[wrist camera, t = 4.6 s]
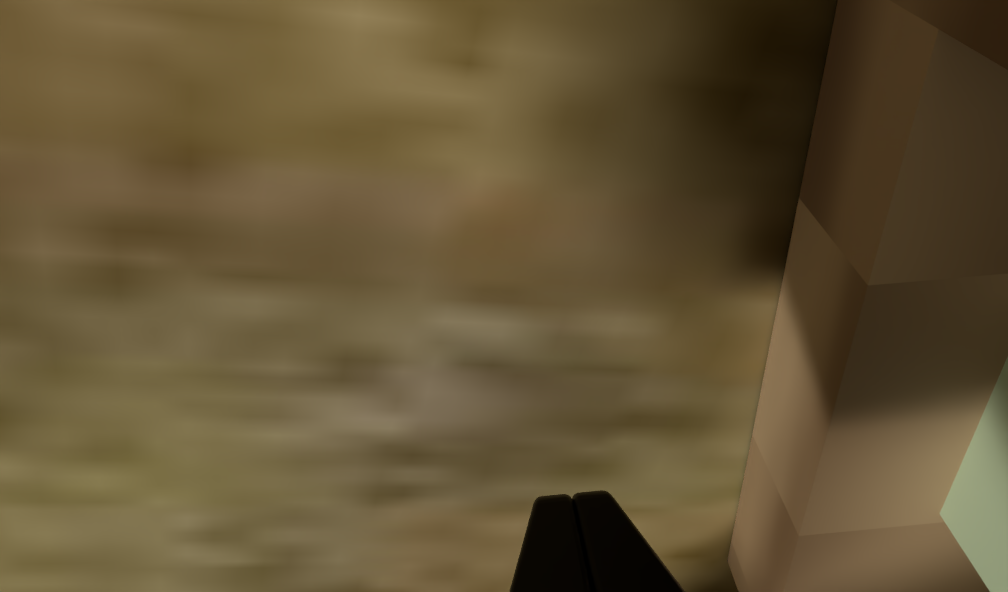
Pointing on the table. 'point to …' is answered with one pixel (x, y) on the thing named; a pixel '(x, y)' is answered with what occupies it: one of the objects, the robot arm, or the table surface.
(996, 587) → the block
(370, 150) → the table surface
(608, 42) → the table surface
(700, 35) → the table surface
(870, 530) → the box
